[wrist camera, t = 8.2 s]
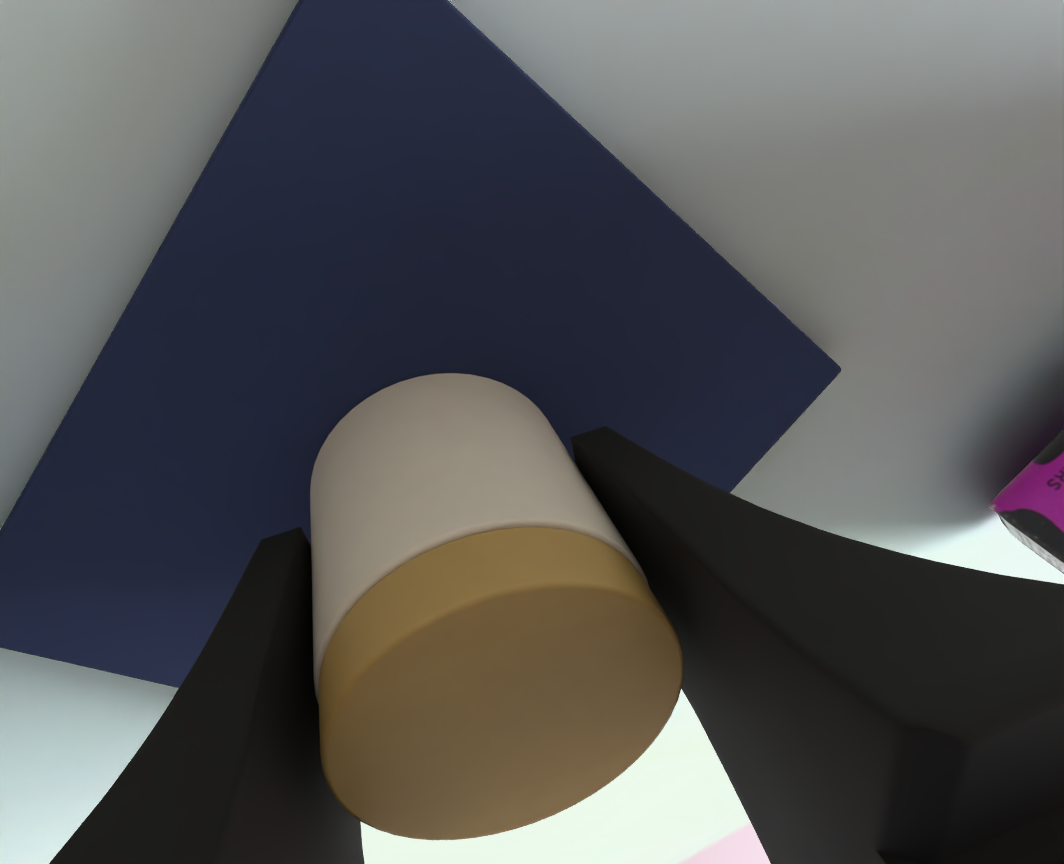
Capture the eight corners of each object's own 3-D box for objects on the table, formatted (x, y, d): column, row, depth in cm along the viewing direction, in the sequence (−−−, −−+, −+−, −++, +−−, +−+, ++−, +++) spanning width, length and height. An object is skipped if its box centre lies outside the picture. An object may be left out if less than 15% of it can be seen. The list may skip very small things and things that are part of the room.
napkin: (482, 741, 17) (487, 758, 16) (-46, 613, 11) (-59, 635, 10) (828, 359, 14) (843, 370, 13) (348, -86, 8) (350, -92, 8)
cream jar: (428, 615, 13) (485, 878, 9) (250, 491, 11) (220, 774, 7) (602, 479, 13) (745, 691, 9) (458, 317, 10) (563, 506, 6)
